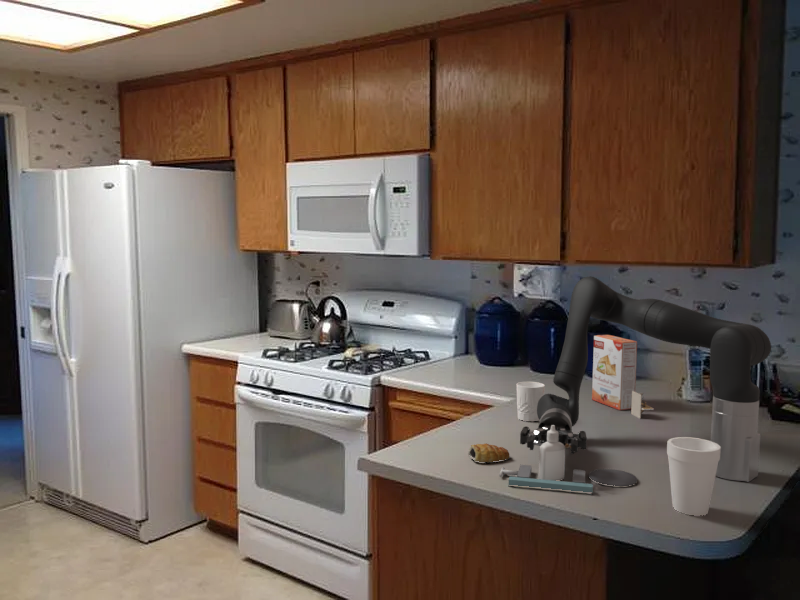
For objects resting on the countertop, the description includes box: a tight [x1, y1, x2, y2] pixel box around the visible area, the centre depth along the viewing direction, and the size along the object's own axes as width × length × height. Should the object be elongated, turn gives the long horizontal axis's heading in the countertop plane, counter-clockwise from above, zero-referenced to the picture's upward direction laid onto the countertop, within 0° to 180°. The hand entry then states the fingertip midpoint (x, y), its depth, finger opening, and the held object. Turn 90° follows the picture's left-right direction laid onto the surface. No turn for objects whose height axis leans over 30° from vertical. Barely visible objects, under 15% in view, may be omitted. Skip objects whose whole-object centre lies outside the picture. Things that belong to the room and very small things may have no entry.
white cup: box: [515, 381, 546, 422], centre depth 206 cm, size 8×8×10 cm
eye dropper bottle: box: [537, 425, 566, 481], centre depth 156 cm, size 4×6×12 cm
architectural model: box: [630, 390, 654, 420], centre depth 210 cm, size 3×7×7 cm, turn 8°
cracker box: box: [591, 334, 638, 411], centre depth 223 cm, size 14×6×21 cm, turn 21°
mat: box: [588, 468, 638, 486], centre depth 157 cm, size 10×10×1 cm
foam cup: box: [666, 436, 721, 517], centre depth 140 cm, size 10×9×13 cm
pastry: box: [467, 442, 511, 463], centre depth 170 cm, size 9×7×4 cm
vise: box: [498, 464, 594, 494], centre depth 155 cm, size 19×10×2 cm, turn 76°
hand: (551, 447), depth 154 cm, fingers open, 8 cm apart
